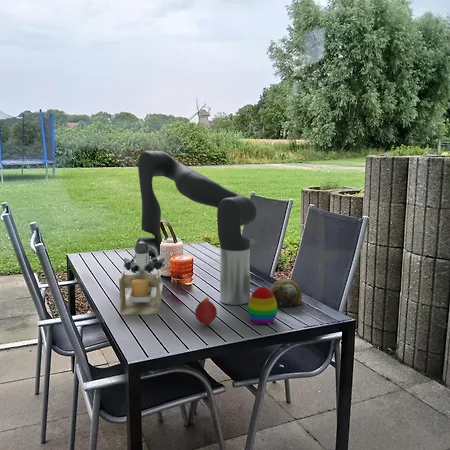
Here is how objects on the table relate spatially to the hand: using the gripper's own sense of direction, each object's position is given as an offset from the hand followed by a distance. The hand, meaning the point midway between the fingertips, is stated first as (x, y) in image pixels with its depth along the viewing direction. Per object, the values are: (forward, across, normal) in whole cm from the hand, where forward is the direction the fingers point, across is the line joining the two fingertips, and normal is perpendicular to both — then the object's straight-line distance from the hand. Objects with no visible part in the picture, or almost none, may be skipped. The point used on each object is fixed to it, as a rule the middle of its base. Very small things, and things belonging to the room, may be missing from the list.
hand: (141, 269), depth 140 cm
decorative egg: (+17, +35, +11) cm, 40 cm away
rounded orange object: (+5, 0, +6) cm, 8 cm away
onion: (+19, +19, +11) cm, 29 cm away
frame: (-4, 0, +11) cm, 12 cm away
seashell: (+3, +45, +11) cm, 47 cm away
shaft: (+2, 0, +8) cm, 8 cm away
